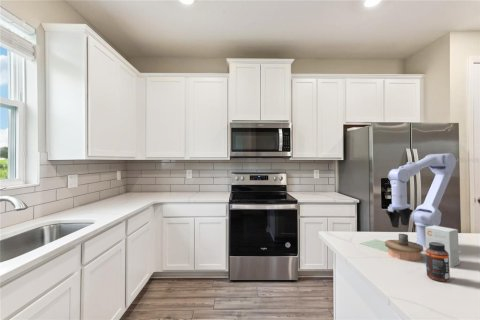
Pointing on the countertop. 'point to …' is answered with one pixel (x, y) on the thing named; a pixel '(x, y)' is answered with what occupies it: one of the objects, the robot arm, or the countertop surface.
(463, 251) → the countertop surface
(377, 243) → the mat
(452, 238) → the small box
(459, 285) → the countertop surface
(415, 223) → the robot arm
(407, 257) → the bowl
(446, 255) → the supplement bottle
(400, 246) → the lid
